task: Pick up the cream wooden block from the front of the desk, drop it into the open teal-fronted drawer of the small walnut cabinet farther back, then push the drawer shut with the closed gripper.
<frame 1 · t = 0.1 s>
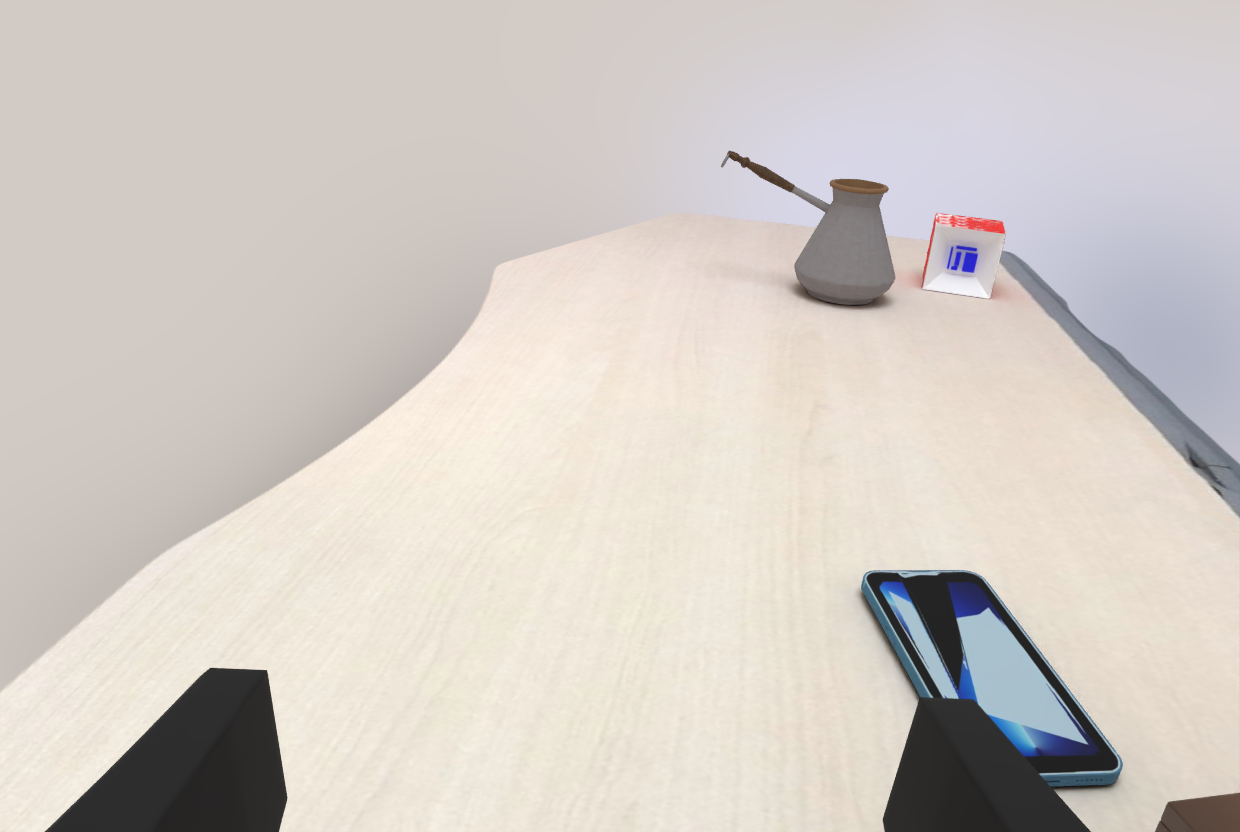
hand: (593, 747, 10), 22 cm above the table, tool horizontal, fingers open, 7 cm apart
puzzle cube: (954, 287, 115), on the table
smartphone: (972, 674, 47), on the table
coffee pot: (797, 291, 109), on the table
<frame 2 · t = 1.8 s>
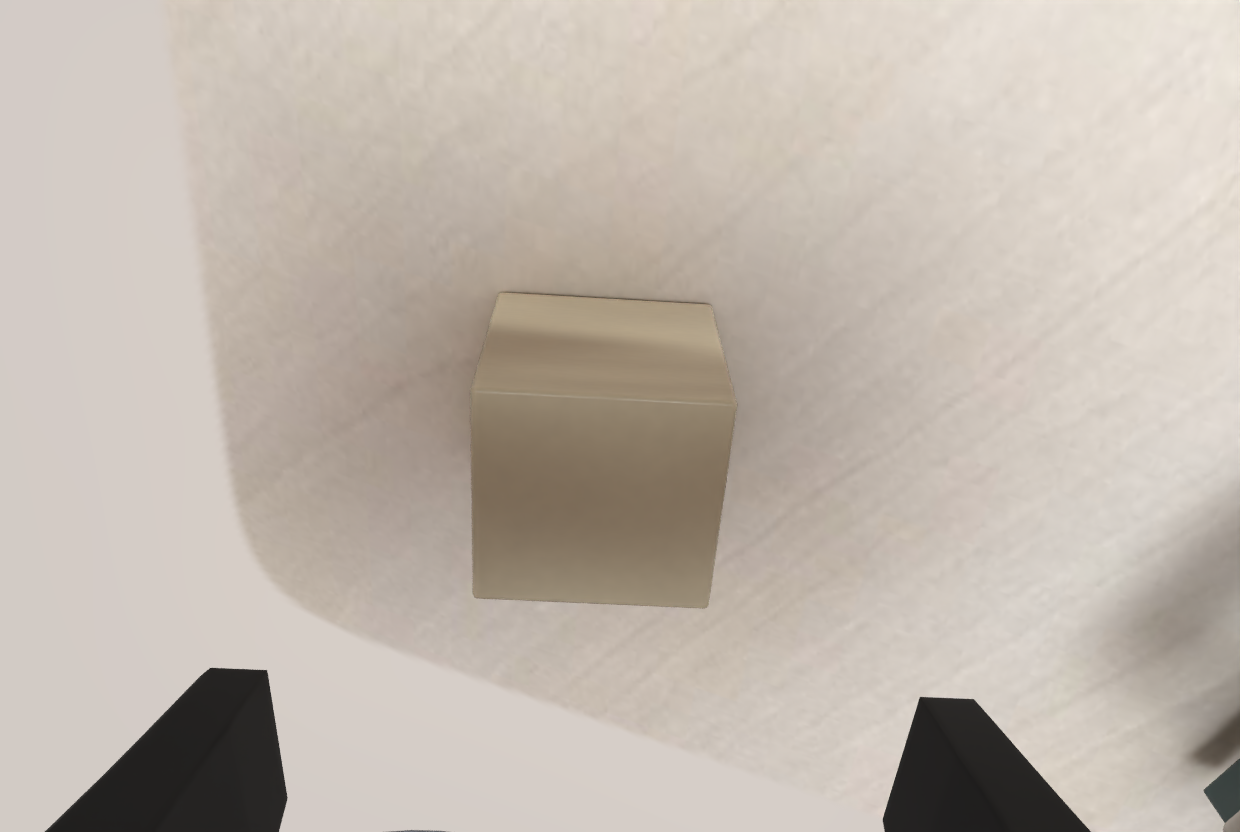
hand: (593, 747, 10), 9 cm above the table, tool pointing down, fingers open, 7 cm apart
block: (599, 392, 18), on the table
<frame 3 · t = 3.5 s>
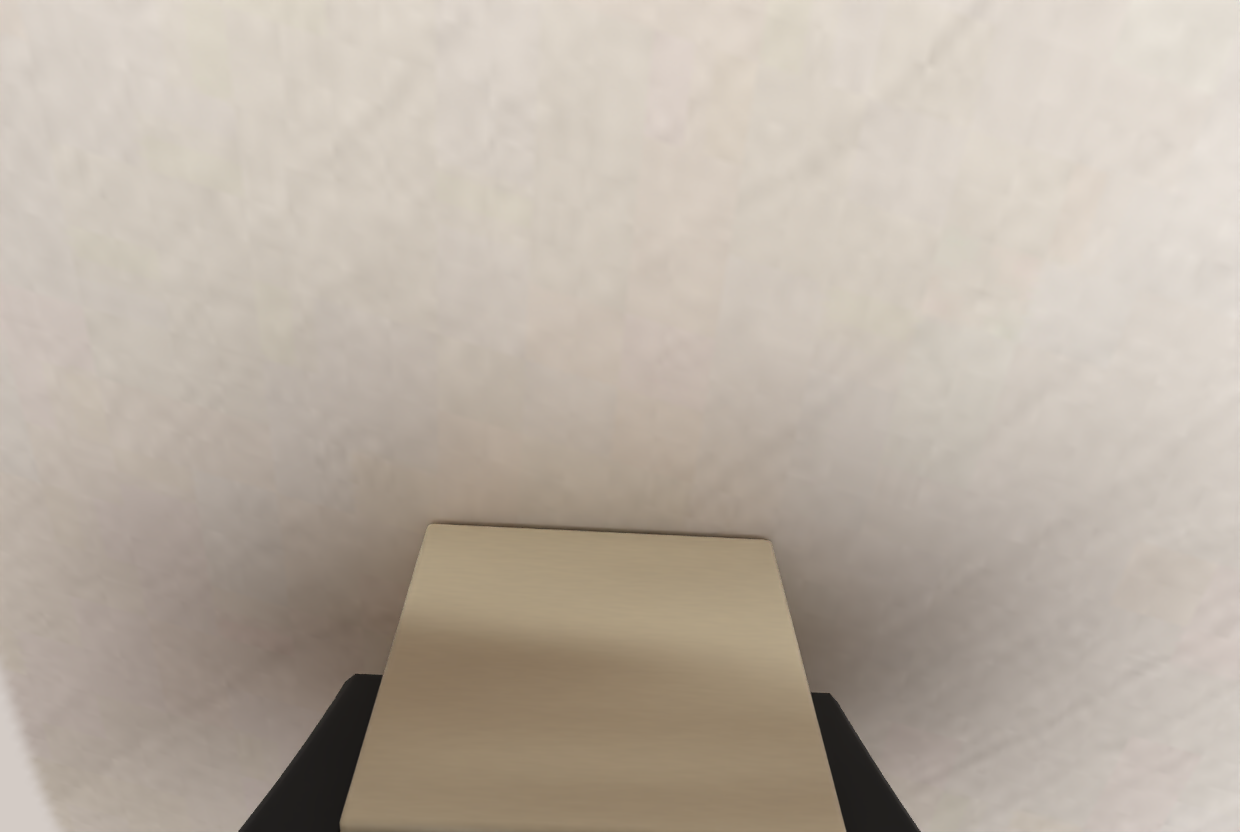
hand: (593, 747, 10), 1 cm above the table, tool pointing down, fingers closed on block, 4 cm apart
block: (592, 658, 12), on the table, touching gripper
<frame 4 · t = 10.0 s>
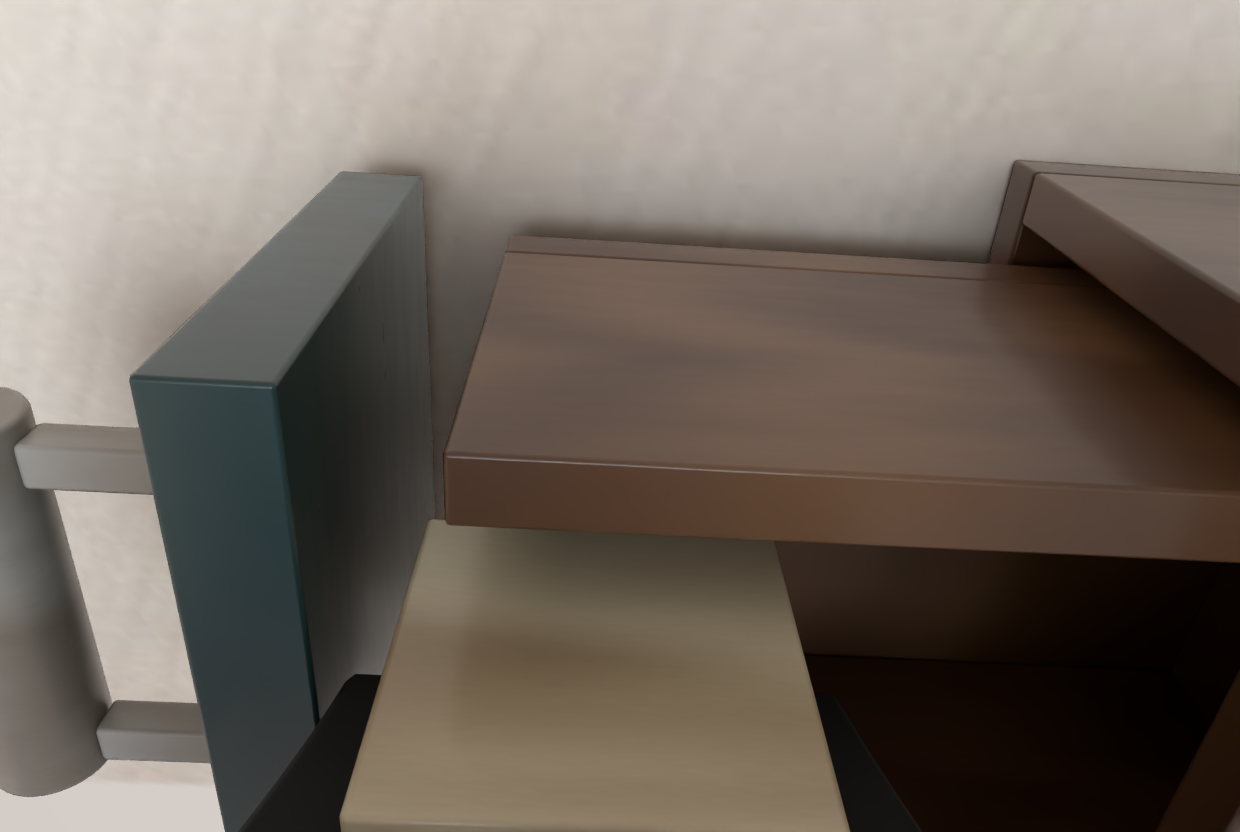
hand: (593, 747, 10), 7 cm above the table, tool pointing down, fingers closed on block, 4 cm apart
drawer: (707, 590, 13), point 4 cm above the table, slide at 9.0 cm, touching gripper
block: (593, 654, 12), point 6 cm above the table, touching gripper
when the fingers open (9 cm above the table, at t = 15.8 s): block drops 5 cm, resting on drawer.
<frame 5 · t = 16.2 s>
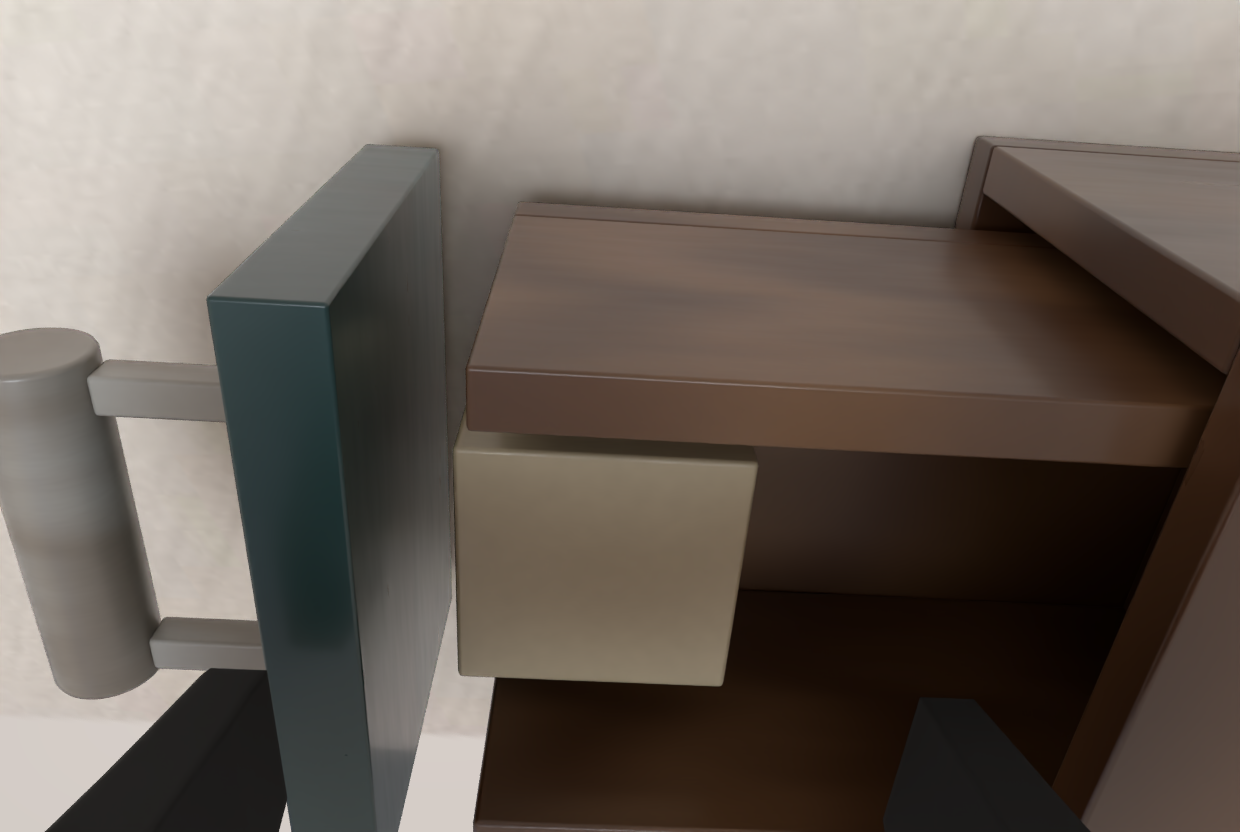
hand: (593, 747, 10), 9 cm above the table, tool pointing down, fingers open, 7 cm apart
drawer: (694, 518, 14), point 4 cm above the table, slide at 9.1 cm, touching block
block: (600, 435, 16), point 2 cm above the table, touching drawer
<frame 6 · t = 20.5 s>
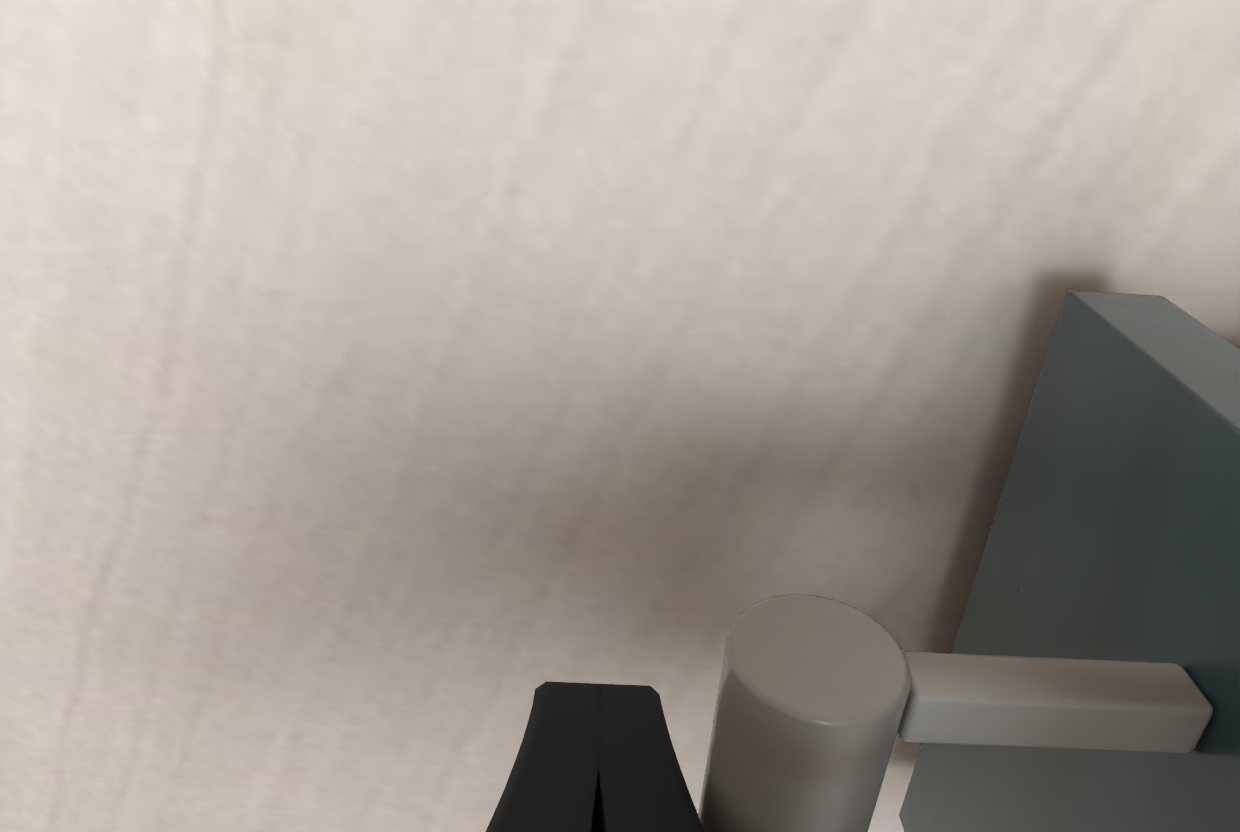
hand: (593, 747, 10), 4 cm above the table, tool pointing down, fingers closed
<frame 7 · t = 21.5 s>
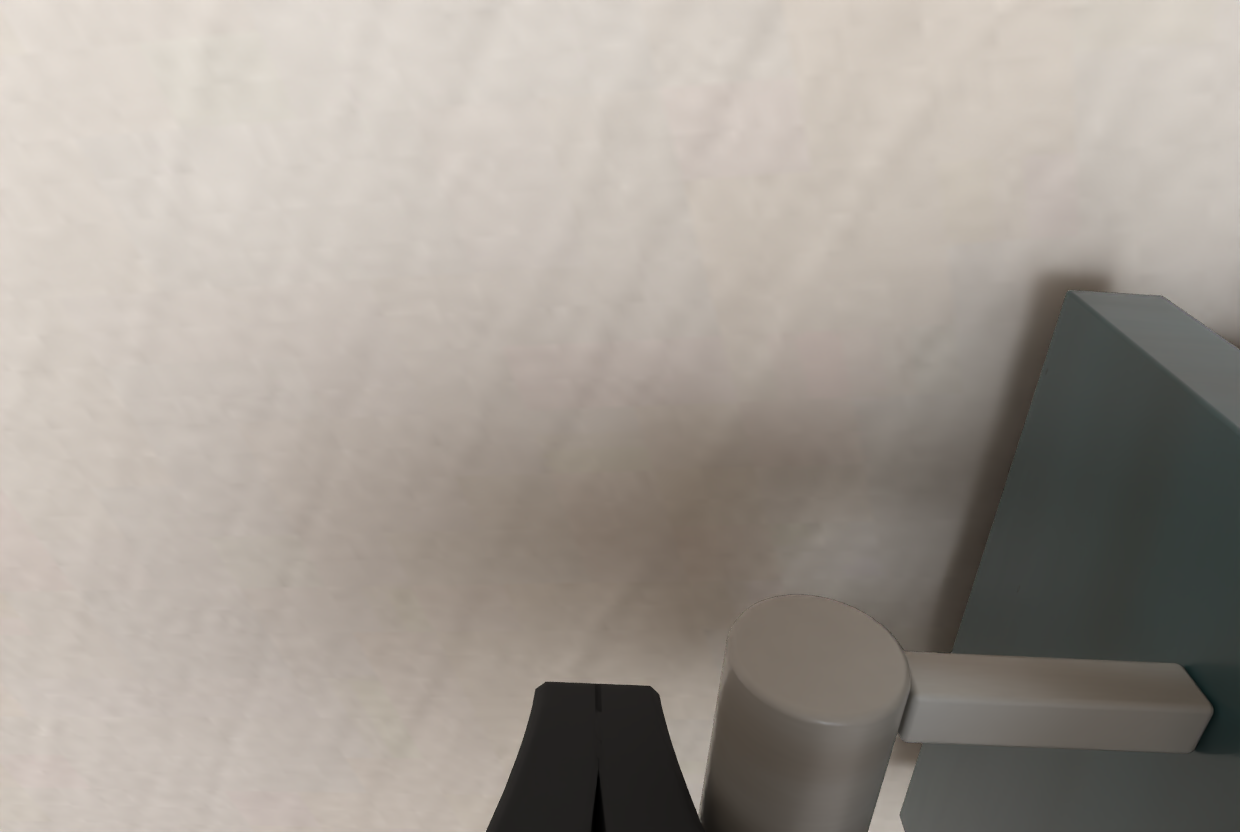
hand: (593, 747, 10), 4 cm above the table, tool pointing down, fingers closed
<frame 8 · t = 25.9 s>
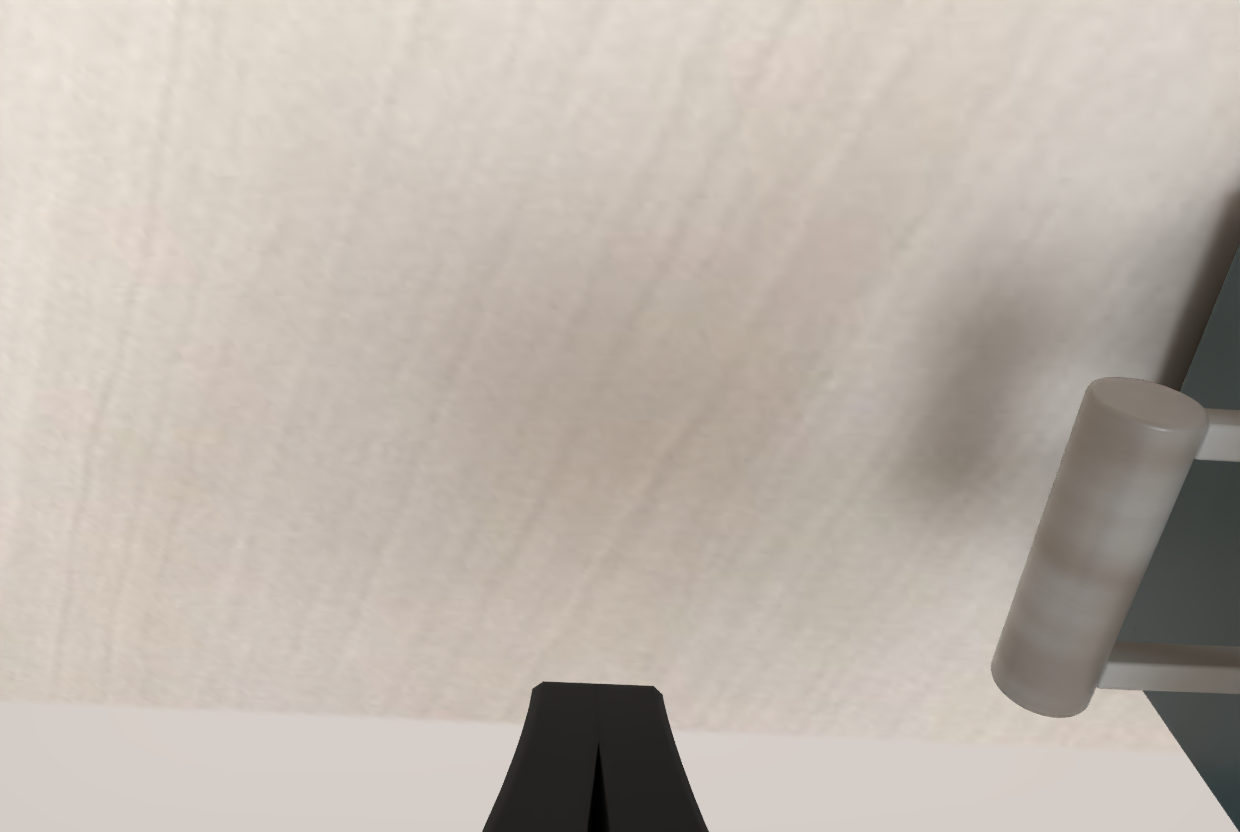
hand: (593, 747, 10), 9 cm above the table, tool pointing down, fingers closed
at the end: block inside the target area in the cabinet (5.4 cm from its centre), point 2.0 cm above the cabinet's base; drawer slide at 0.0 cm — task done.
